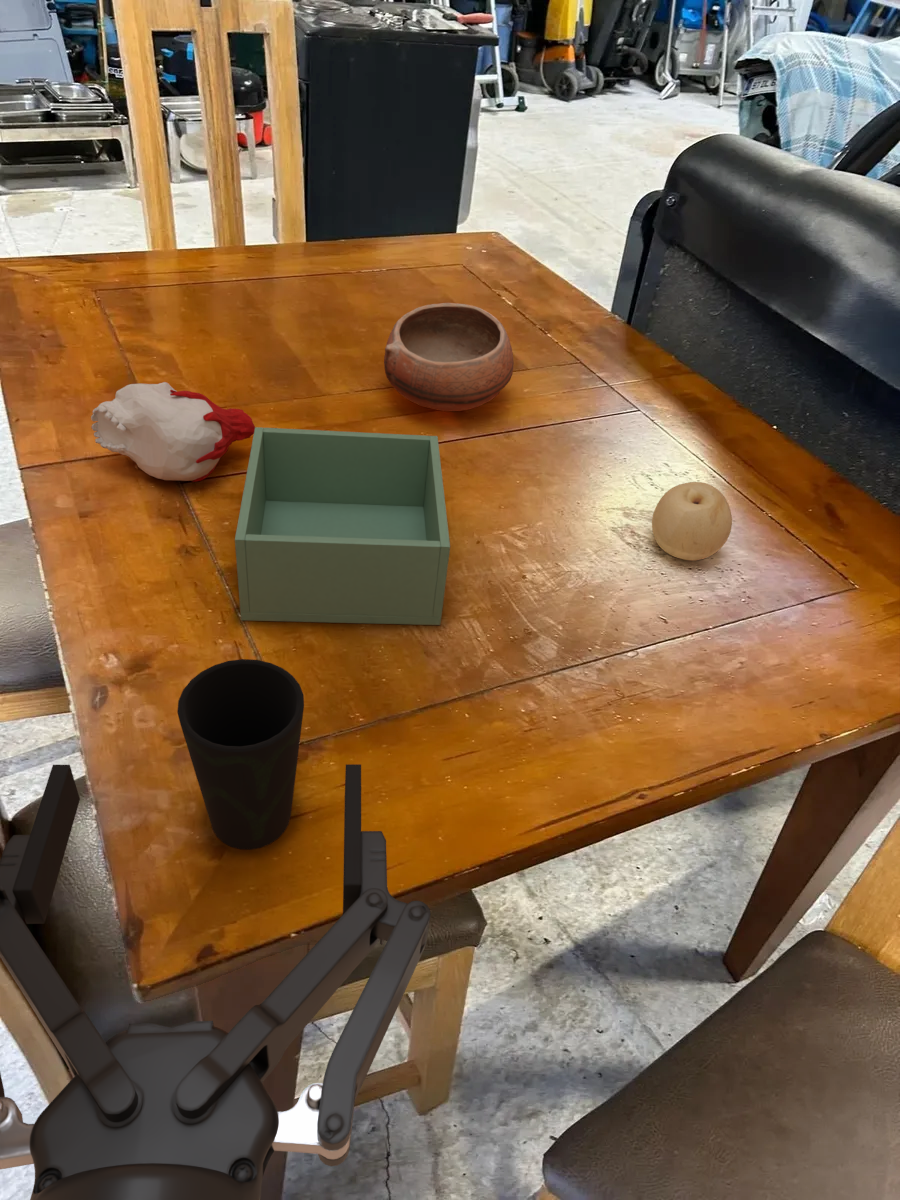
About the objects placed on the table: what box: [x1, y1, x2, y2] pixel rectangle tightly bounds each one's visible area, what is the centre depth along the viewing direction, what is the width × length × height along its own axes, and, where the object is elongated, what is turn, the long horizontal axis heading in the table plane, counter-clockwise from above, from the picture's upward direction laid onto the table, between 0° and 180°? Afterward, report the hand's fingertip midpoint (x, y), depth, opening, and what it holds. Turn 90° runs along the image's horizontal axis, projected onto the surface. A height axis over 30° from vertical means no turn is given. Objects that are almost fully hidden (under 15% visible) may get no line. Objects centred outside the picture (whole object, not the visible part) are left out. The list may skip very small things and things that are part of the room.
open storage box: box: [234, 426, 451, 626], centre depth 82 cm, size 18×18×9 cm
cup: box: [176, 658, 305, 850], centre depth 59 cm, size 8×8×12 cm
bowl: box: [383, 302, 515, 412], centre depth 108 cm, size 16×16×10 cm
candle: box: [90, 381, 256, 483], centre depth 92 cm, size 9×11×15 cm
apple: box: [651, 481, 733, 561], centre depth 90 cm, size 8×8×8 cm
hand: (212, 781), depth 43 cm, fingers open, 13 cm apart
